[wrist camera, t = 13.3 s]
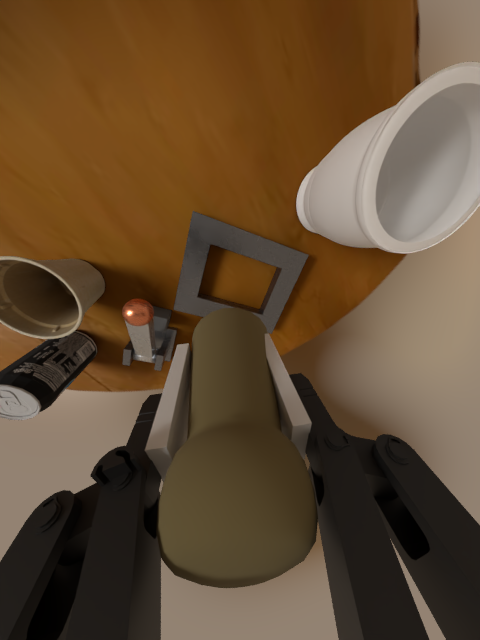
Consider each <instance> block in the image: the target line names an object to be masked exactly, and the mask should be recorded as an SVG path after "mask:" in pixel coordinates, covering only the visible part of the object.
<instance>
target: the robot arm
mask: <svg viewBox="0 0 480 640" xmlns="http://www.w3.org/2000/svg"><path fill="white" fill-rule="evenodd" d="M265 347H266V357H267V361H268V365H269V368H270V372H271V376H272V379H273V383H274V388H275V393H276V398H277V403H278V408H279V415H280V422H281V429H282V433H283V434H284V435H285V436H286V437H287V438H288V439H290V440H291V441H292V442H293V443H294V444H295V446H296V447H297V449H298V451H299V453H300V454H301V456H302V458H303V459H305V455H306V454H307V457H308V460H309V462H310V466H309V470H308V473H309V476H310V479H311V482H312V485H313V489H314V492H315V499H316V506H317V513H318V522H319V528H320V534H321V540H322V546H323V551H324V557H325V563H326V568H327V574H328V580H329V586H330V592H331V597H332V603H333V609H334V615H335V620H336V626H337V631H338V638H339V640H429V638H428V635H427V633H426V630H425V627H424V625H423V622H422V620H421V617H420V614H419V612H418V610H417V607H416V604H415V602H414V599H413V597H412V594H411V591H410V589H409V586H408V584H407V581H406V578H405V576H404V574H403V571H402V568H401V566H400V563H399V561H398V558H397V555H396V553H395V550H394V548H393V545H392V543H391V541H392V542H393V544H394V546H395V548H396V550H397V551H398V553H399V555H400V557H401V559H402V560H403V562H404V564H405V566H406V568H407V569H408V571H409V573H410V575H411V576H412V579H413V580H414V582H415V584H416V586H417V587H418V589H419V591H420V593H421V595H422V596H423V598H424V600H425V602H426V604H427V605H428V607H429V609H430V611H431V613H432V614H433V617H434V618H435V620H436V622H437V624H438V626H439V627H440V629H441V631H442V633H443V635H444V636H445V638H446V640H480V525H479V524H478V523H477V522H476V521H475V520H474V518H473V517H472V516H471V515H470V514H469V513H468V511H467V510H466V509H465V508H464V507H463V506H462V505H461V503H460V502H459V501H458V500H457V499H456V498H455V496H454V495H453V494H452V493H451V492H450V491H449V490H448V489H447V487H446V486H445V485H444V484H443V483H442V482H441V481H440V479H439V478H438V477H437V476H436V475H435V474H434V473H433V471H432V470H431V469H430V468H429V467H428V466H427V464H426V463H425V462H424V461H423V460H422V459H421V458H420V456H419V455H418V454H417V453H416V452H415V451H414V450H413V449H412V448H411V447H410V446H409V445H408V444H407V443H406V442H404V441H403V440H401V439H399V438H397V437H395V436H392V435H385V434H383V435H380V436H378V437H377V439H376V441H374V440H370V439H364V438H358V437H354V436H351V435H349V434H347V433H345V432H344V431H343V430H341V429H340V428H338V427H337V426H336V424H335V423H334V422H333V420H332V419H331V417H330V415H329V413H328V412H327V410H326V408H325V407H324V405H323V403H322V402H321V400H320V398H319V397H318V396H317V393H316V391H315V390H314V389H313V386H312V385H311V383H310V381H309V380H308V379H307V378H306V377H305V376H303V375H302V374H301V373H299V374H292V375H288V373H287V371H286V369H285V367H284V364H283V362H282V360H281V358H280V356H279V354H278V352H277V350H276V348H275V346H274V344H273V342H272V340H271V337H270V335H269V333H268V334H265ZM190 372H191V351H190V347H189V343H187V344H179V345H177V348H176V351H175V354H174V357H173V361H172V364H171V367H170V370H169V374H168V377H167V380H166V383H165V387H164V390H163V393H161V394H155V395H150V396H149V397H148V398H147V400H146V401H145V402H144V403H143V405H142V407H141V410H140V413H139V416H138V418H137V420H136V424H135V425H134V428H133V430H132V433H131V435H130V438H129V440H128V443H127V445H126V446H121V447H117V448H115V449H113V450H111V451H109V452H108V453H107V454H106V455H105V456H103V457H102V458H101V459H100V460H99V462H98V463H97V464H96V466H95V467H94V469H93V471H92V473H91V477H92V478H93V479H94V480H95V481H96V482H97V483H95V484H94V485H91V486H89V487H88V488H86V489H84V490H82V491H80V492H78V493H76V494H73V493H72V492H71V491H65V490H63V491H60V492H57V493H55V494H53V495H52V496H50V497H49V498H47V499H46V500H44V501H43V502H42V503H41V504H40V505H39V506H38V507H37V508H36V509H35V510H34V511H33V513H32V514H31V515H30V517H29V518H28V519H27V520H26V522H25V524H24V525H23V527H22V528H21V530H20V531H19V533H18V535H17V536H16V538H15V539H14V541H13V543H12V544H11V546H10V547H9V549H8V550H7V552H6V554H5V555H4V557H3V558H2V560H1V562H0V640H160V639H161V637H160V636H161V634H160V633H161V629H160V628H161V613H160V612H161V555H160V549H159V544H158V539H157V534H156V526H157V508H158V503H159V499H160V492H159V487H160V482H161V479H162V481H163V482H164V480H165V477H166V473H167V471H168V469H169V466H170V464H171V462H172V460H173V458H174V455H175V453H176V452H177V451H178V450H179V448H180V447H181V446H182V445H183V444H184V443H185V442H186V441H187V431H188V412H189V392H190ZM390 539H391V540H390Z"/></svg>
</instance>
